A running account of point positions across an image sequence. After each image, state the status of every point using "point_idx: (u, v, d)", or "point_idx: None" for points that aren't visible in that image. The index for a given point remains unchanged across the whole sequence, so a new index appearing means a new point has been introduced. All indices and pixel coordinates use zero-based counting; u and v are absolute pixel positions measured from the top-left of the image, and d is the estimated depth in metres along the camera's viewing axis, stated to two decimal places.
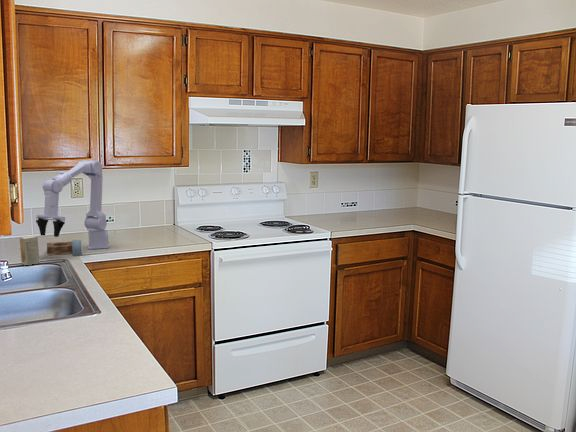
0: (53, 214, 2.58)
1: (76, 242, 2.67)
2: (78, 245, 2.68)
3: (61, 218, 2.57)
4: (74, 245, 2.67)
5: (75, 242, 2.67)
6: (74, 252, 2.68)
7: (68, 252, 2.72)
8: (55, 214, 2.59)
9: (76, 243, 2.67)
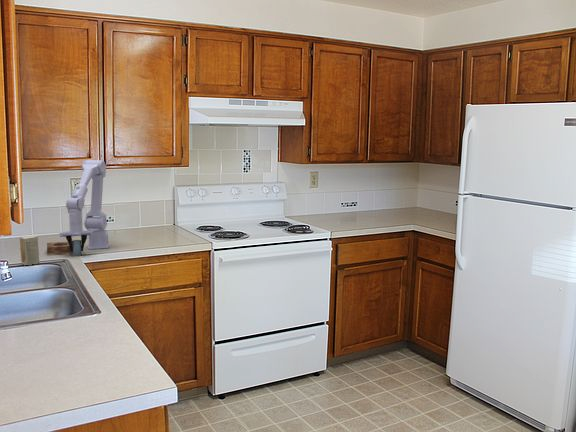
0: (82, 230, 2.68)
1: (76, 242, 2.67)
2: (78, 245, 2.68)
3: (91, 232, 2.70)
4: (74, 245, 2.67)
5: (75, 242, 2.67)
6: (74, 252, 2.68)
7: (68, 252, 2.72)
8: (82, 230, 2.69)
9: (76, 243, 2.67)
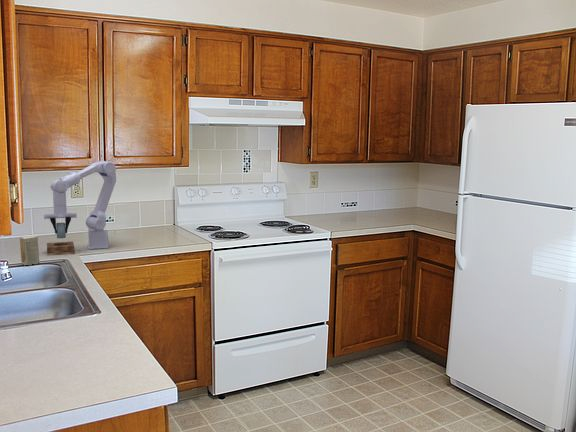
0: (66, 212, 2.73)
1: (60, 224, 2.72)
2: (63, 227, 2.73)
3: (75, 215, 2.75)
4: (58, 227, 2.72)
5: (59, 224, 2.72)
6: (58, 234, 2.72)
7: (68, 252, 2.72)
8: (66, 212, 2.74)
9: (61, 225, 2.72)
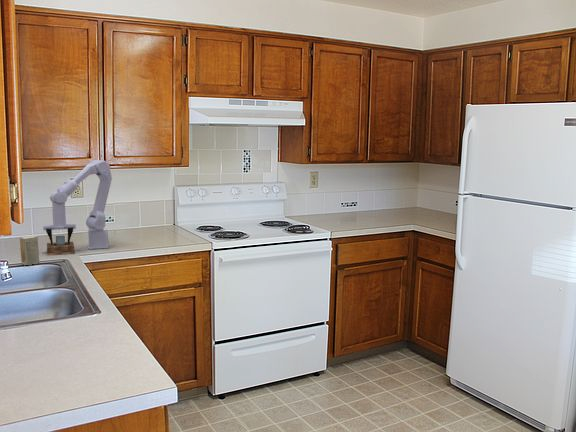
0: (65, 223, 2.74)
1: (60, 237, 2.73)
2: (62, 240, 2.74)
3: (74, 226, 2.76)
4: (58, 240, 2.73)
5: (59, 238, 2.73)
6: None
7: (68, 252, 2.72)
8: (65, 223, 2.75)
9: (60, 238, 2.73)
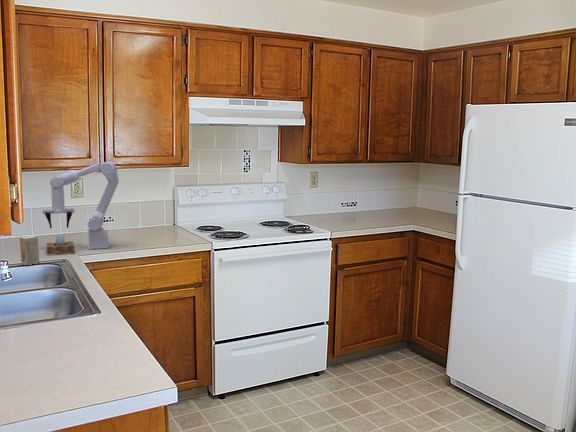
0: (63, 207, 2.82)
1: (60, 238, 2.73)
2: (62, 240, 2.74)
3: (73, 210, 2.85)
4: (58, 241, 2.73)
5: (59, 238, 2.73)
6: None
7: (68, 252, 2.72)
8: (64, 207, 2.83)
9: (60, 238, 2.73)
